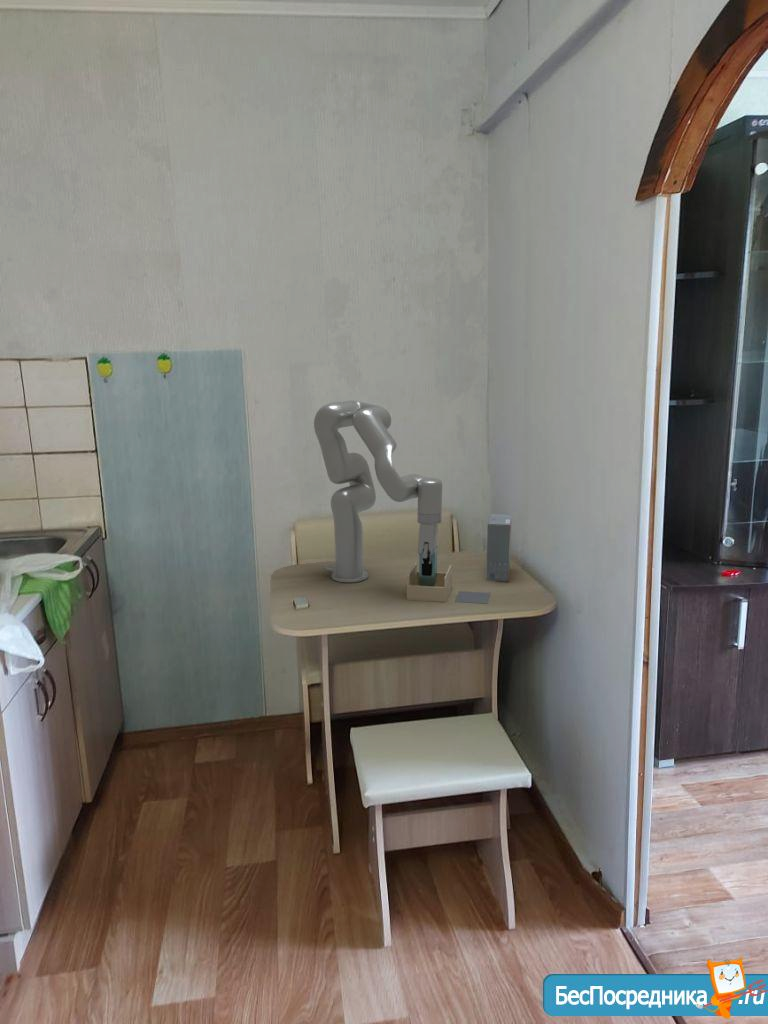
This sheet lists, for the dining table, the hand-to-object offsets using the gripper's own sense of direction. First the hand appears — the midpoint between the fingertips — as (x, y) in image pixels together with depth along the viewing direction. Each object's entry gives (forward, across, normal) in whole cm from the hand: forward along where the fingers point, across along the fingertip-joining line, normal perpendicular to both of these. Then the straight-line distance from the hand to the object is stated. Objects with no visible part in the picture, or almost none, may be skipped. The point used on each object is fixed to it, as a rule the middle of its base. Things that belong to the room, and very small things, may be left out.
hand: (428, 571), depth 241 cm
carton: (+7, 0, +1) cm, 7 cm away
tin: (+4, 0, 0) cm, 4 cm away
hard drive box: (+7, -24, +21) cm, 32 cm away
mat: (+7, +2, +15) cm, 17 cm away
